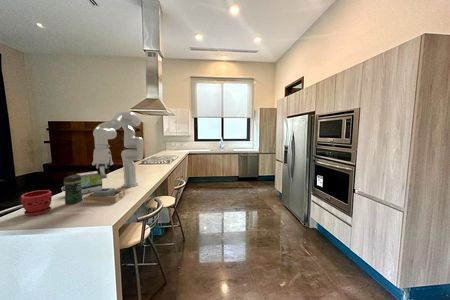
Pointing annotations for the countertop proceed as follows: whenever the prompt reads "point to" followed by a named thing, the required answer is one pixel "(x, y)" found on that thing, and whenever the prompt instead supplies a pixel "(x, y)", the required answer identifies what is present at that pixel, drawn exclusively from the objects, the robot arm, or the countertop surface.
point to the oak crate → (103, 198)
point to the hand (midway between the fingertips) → (103, 173)
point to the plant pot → (36, 202)
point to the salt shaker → (102, 171)
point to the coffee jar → (73, 189)
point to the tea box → (90, 182)
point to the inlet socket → (104, 192)
